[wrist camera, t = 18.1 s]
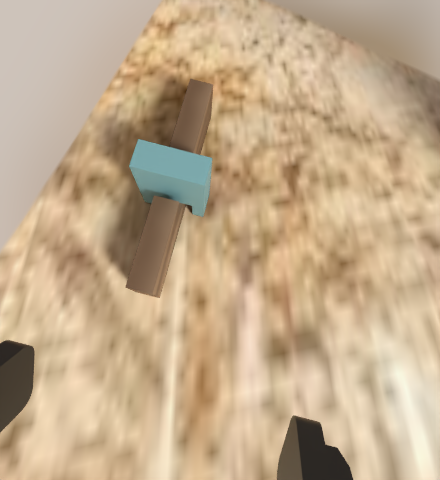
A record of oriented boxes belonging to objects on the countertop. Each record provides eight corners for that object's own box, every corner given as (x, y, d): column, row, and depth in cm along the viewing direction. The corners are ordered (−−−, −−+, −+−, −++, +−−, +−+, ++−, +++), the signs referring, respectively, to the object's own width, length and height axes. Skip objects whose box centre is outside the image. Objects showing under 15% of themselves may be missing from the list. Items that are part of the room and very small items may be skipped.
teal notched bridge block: (209, 195, 34) (212, 158, 26) (203, 216, 33) (204, 185, 26) (151, 180, 34) (138, 139, 26) (144, 201, 33) (128, 166, 26)
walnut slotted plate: (211, 116, 36) (213, 84, 31) (159, 297, 31) (152, 294, 26) (191, 111, 36) (190, 78, 31) (136, 292, 31) (125, 287, 26)
